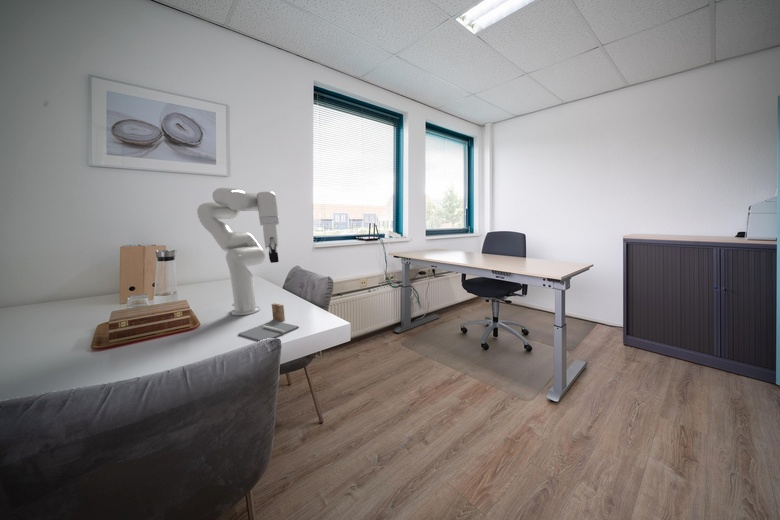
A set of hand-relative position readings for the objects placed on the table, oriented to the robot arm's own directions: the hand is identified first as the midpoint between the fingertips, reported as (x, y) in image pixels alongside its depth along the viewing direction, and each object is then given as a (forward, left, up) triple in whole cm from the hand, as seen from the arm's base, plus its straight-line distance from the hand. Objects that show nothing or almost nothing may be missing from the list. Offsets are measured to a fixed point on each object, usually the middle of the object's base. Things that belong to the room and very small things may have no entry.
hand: (274, 261), depth 127 cm
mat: (+8, -11, -26) cm, 30 cm away
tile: (0, 0, -26) cm, 26 cm away
